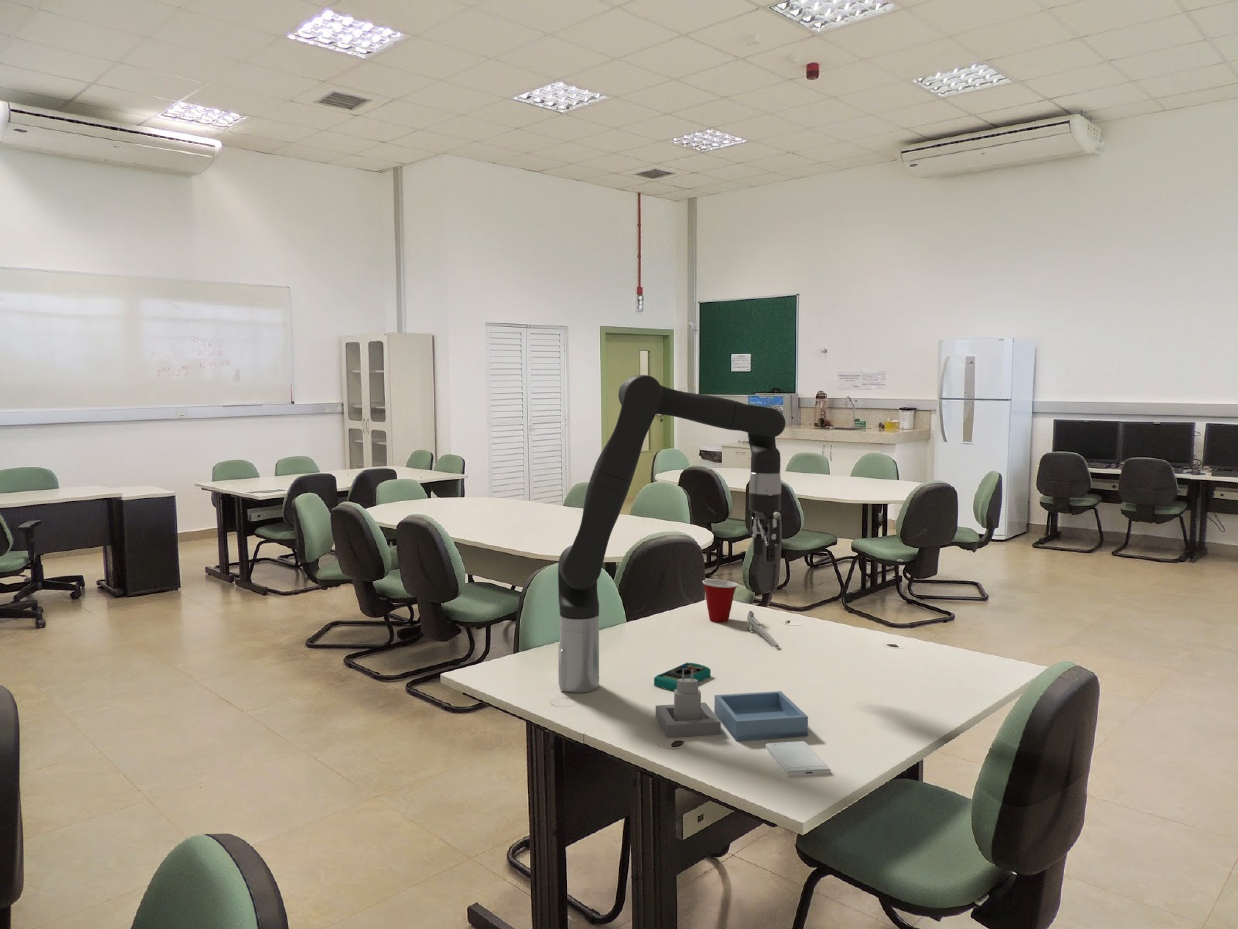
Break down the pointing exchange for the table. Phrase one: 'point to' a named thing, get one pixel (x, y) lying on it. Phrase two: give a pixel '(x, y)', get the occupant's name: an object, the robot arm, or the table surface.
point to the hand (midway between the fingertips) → (763, 558)
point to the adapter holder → (687, 722)
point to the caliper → (760, 629)
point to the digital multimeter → (671, 676)
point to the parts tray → (760, 716)
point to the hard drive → (797, 758)
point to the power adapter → (687, 699)
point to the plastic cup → (719, 598)
